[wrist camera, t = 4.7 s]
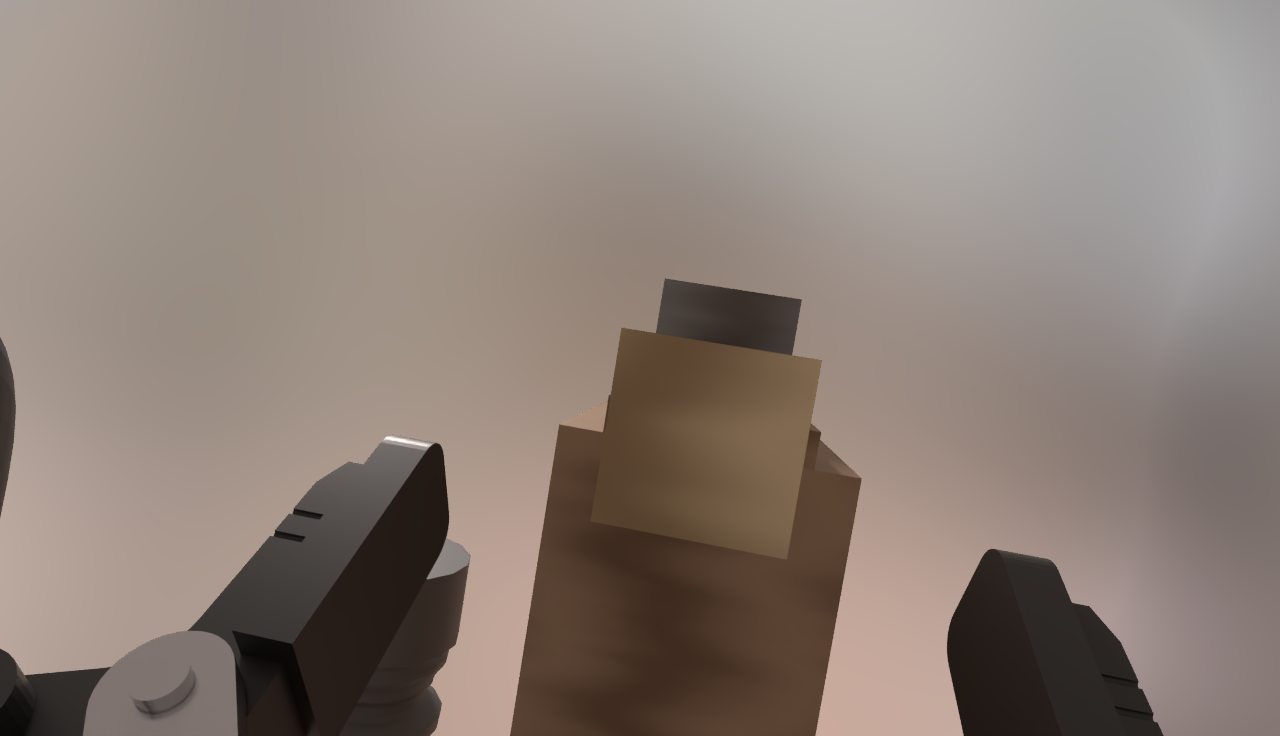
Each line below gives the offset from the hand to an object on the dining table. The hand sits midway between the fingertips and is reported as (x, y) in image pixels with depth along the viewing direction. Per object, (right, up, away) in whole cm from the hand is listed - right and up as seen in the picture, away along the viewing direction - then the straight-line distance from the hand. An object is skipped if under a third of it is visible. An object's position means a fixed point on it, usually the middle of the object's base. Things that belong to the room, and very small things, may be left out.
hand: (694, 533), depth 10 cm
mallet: (+1, 0, +9) cm, 9 cm away
